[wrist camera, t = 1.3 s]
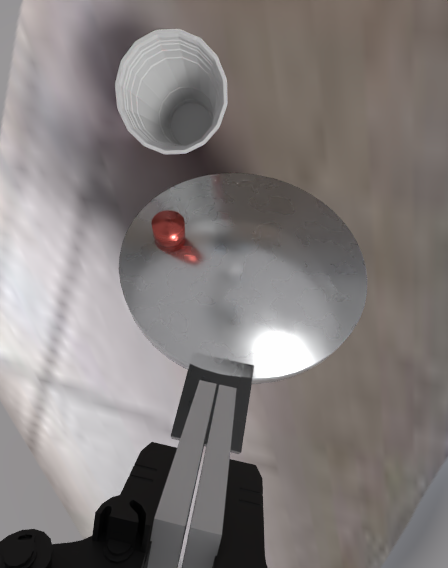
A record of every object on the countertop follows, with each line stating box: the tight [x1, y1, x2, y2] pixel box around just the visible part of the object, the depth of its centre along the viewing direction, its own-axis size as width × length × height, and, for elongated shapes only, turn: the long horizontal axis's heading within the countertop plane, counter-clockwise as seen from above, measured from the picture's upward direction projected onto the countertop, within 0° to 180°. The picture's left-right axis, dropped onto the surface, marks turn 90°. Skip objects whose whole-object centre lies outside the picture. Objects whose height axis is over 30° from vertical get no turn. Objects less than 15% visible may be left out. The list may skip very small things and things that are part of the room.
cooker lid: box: [119, 173, 367, 454], centre depth 24 cm, size 23×19×4 cm
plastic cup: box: [115, 29, 227, 154], centre depth 36 cm, size 11×11×12 cm
